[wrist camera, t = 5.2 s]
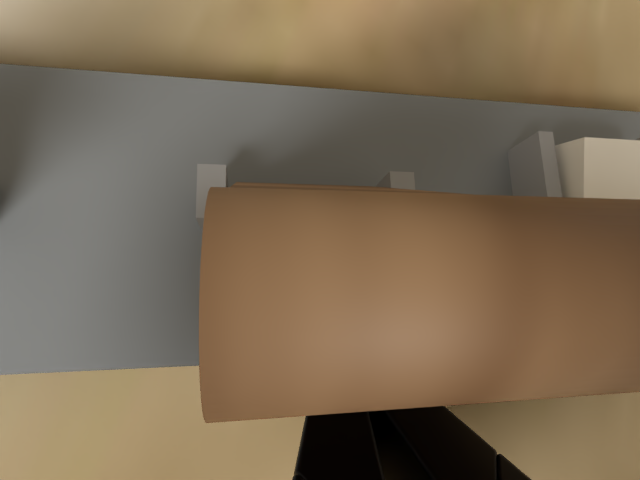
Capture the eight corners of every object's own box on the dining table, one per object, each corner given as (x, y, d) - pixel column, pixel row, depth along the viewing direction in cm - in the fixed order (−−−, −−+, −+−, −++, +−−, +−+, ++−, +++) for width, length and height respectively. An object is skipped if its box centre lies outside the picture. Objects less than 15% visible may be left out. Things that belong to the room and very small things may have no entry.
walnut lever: (361, 232, 15) (761, 429, 3) (237, 231, 14) (200, 484, 3) (363, 183, 15) (807, 207, 3) (237, 178, 14) (198, 191, 2)
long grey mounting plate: (665, 337, 20) (817, 342, 14) (-263, 378, 13) (-597, 414, 8) (628, 143, 22) (751, 86, 16) (-196, 94, 15) (-430, -26, 10)
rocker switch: (623, 278, 16) (659, 282, 15) (551, 279, 15) (582, 283, 14) (626, 149, 16) (662, 141, 14) (553, 146, 15) (584, 136, 14)
